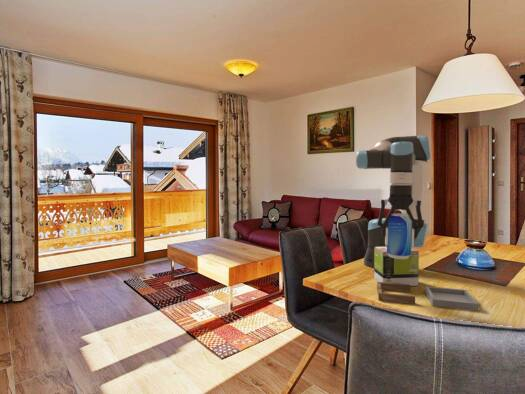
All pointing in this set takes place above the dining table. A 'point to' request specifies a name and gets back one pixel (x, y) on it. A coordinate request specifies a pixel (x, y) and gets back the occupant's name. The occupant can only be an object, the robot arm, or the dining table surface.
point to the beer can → (399, 236)
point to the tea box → (396, 268)
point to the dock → (394, 296)
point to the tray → (451, 298)
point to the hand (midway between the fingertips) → (399, 245)
